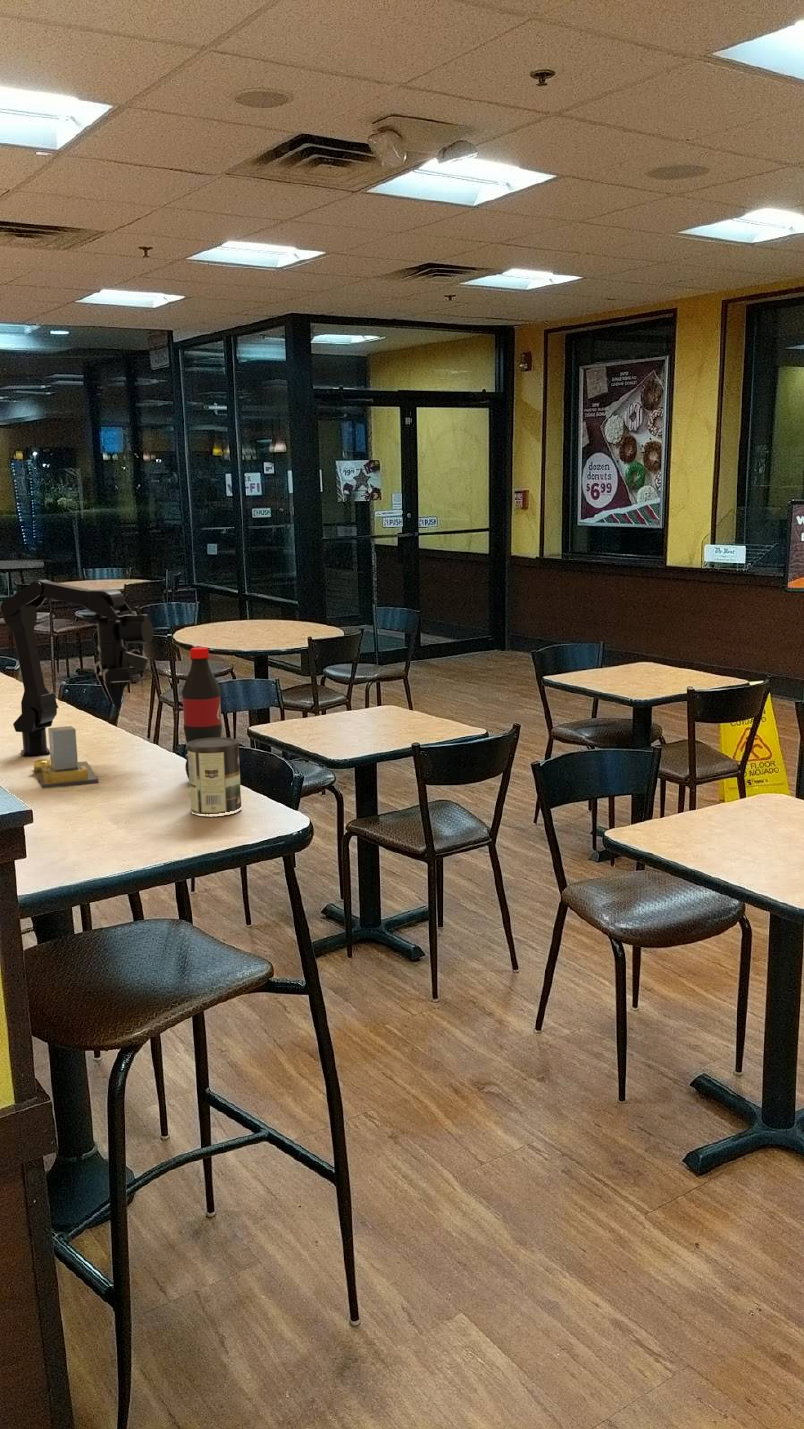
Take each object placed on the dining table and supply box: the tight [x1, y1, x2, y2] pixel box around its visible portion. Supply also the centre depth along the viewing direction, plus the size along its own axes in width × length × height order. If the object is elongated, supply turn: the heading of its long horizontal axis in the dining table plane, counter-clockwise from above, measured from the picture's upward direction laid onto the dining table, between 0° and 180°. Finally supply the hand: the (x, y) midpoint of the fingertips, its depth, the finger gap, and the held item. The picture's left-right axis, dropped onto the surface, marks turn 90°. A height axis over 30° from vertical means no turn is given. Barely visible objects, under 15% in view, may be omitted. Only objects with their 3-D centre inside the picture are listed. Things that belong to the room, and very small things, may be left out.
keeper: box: [33, 758, 100, 789], centre depth 249 cm, size 20×12×3 cm, turn 23°
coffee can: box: [186, 736, 242, 815], centre depth 216 cm, size 10×10×14 cm
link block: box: [47, 725, 79, 772], centre depth 244 cm, size 4×5×11 cm
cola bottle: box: [181, 646, 223, 780], centre depth 240 cm, size 8×8×30 cm
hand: (114, 706), depth 265 cm, fingers open, 9 cm apart
